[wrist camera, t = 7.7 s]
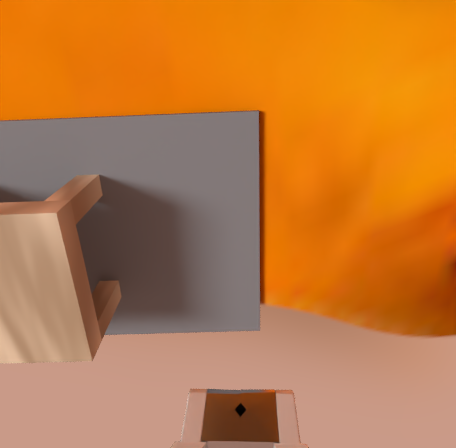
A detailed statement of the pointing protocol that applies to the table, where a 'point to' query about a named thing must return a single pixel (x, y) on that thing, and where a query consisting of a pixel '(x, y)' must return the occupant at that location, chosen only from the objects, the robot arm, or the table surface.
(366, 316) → the table surface
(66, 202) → the stool
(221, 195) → the mat
